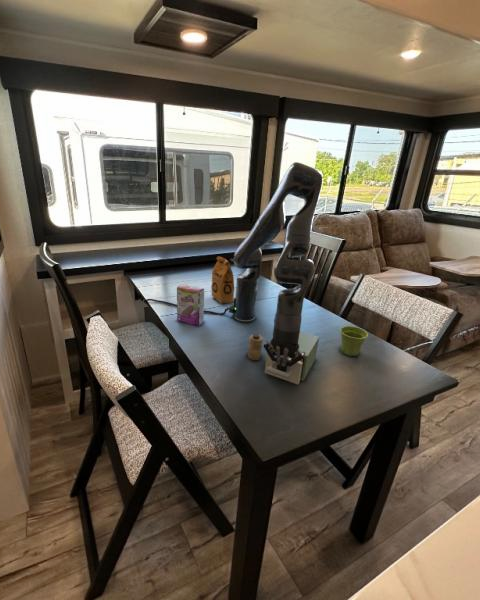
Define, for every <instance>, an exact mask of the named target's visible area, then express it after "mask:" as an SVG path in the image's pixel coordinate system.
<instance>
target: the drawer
mask: <svg viewBox="0 0 480 600" xmlns="http://www.w3.org/2000/svg"><path fill="white" fill-rule="evenodd" d="M273 349H274V348H273ZM274 351H275V350H274ZM294 357H295V354H292V355H291V356H290V357H289V360H291V359H292V358H294ZM304 360H305V357H303V359H302V360H300V361H298V362H297V363H295V364H294V365H292V366H291V367H289V366H287V371H286V372H283V371H280V370H277V369H276V368H277V363H276V362H275V361H272V360H271V358H270V357H269V355H268V353H267V352H266V356H265V366H264V374H266V375H270V376H273V377H275V378H278V379H281V380H284V381H287V382H288V383H289V382H290V383H292V384H295V385H299V384H300V382H301V380H300V376H301V374H302V371H303V366H304Z"/></svg>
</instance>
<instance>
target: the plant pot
mask: <svg viewBox="0 0 480 600" xmlns="http://www.w3.org/2000/svg"><path fill="white" fill-rule="evenodd" d="M339 331H340V336H341V338H340V339H341V341H340V343H341V344H340V351H341V352H342V353H343V354H344V355H346V356H348V357H353V356H358V355H359V353H360V351H361V348H362V346H363V344H364V342H365V340H366V339H367V338H368V337H369V334H368V332H367V331H366V330H364V329H363V328H360V327H357V326H352V325H345V326H342V327H340V329H339Z"/></svg>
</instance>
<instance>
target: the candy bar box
mask: <svg viewBox="0 0 480 600" xmlns="http://www.w3.org/2000/svg"><path fill="white" fill-rule="evenodd" d="M176 305H177V306H176V318H177V322H180V323H185V324H188V325H192V326H197V327H200V326H202V324H203V323H204V321H205V314H204V313H205V312H204V311H205V288H204V287H199V286H194V285H189V284H185V283H181V284H180V285H177V287H176Z"/></svg>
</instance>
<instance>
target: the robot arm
mask: <svg viewBox="0 0 480 600" xmlns="http://www.w3.org/2000/svg"><path fill="white" fill-rule="evenodd" d="M323 177H324V175H323V173H322V171H320V170H319V169H316V168H315V167H312V166H309V165H307V164H304V163H301V162H298V161H295V162H293V163H291V165H290V166H289V167H288V168H287V170H286V171H285V173H284V175H283V177H282V179H281V180H280V182H279V184H278V186H277V187H276V190H275V192H274V193H273V195H272V197H271V199H270V200H269V202H268V203H267V205H266V207H265V208H264V210H263V211H262V212H261V213H260V215H259V217H258V218H257V220H256V222H255V224H254V225H253V226H252V228H251V230H250V231H249V233H247V235H246V236H245V238H244V239H243V241H242V242H241V243H240V244H239V246H238V247H237V248H236V249H235V251H234V254H233V263H234V267H236V268H237V269H240V270H244V271H242V272H241V273H239V274H238V275H237V276H236V286H235V296H234V297H233V304H232V305H231V306H230V307H227V308H225V309H224V311H223V312H215V311H212V310H204V313H207V314H212V315H219V316H223V315H226V313H227V311H228V313H229V314H232V318H233V319H235V320H236V321H238V322H242V323H250V322H253V321H255V319H256V309H257V308H256V305H257V296H258V295H257V294H258V284H259V279H260V277H261V269H262V263H263V262H262V261H263V254H262V249H261V248H263V247H264V246H266V245H268V244H269V243H271V242H272V241H274V239H276V238H277V236H278V235H279V234H280V232H281V231H282V230H283V228H284V227H285V224H286V212H285V200H286V198H287V196H288V195H291V196H294V197H295V198H296V197H297V198H298V199H302V200H304V203H303V206H302V207H301V208H300V209H299V210H298V211H297V212H296V213H295V214H294V215H293V216H292V217H291V218H290V220H289V221H288V222H287V225H286V228H285V235H284V243H283V247H282V249H281V252H280V255H279V257H278V259H277V261H276V262H275V265H274V268H273V276H274V279H275V280H276V281H277V282H278V283H282V284H290V285H291V284H292V285H296V286H295V287H292V288H286V289H285V288H284V289H282V290H280V291H279V292H278V295H277V300H276V301H277V303H276V309H275V315H274V319H273V329H272V338H271V339H270V341H269V340H267V341H265V343H264V344H263V349H264V351H266V354H267V353H268V355H269V357H270V358H271V360H272V361H275V362H276V363H277V368H276V369H277V370H280V371H283V372H286V371H287V366H289V367H291V366H292V365H294V364H295V363H297V362H298V361H300V360H302V359H303V357H304V356H305V352H302V351H301V350H300V349H299V345H298V340H299V333H300V332H301V326H302V313H303V312H302V311H303V306H304V301H305V296H306V293H307V291H308V289H309V286H310V285H311V283H312V281H313V279H314V276H315V273H316V266H315V264H314V261H313V260H311V259H309V258H301V257H302V256H305V255H307V254H308V253H309V252H310V246H311V240H312V239H311V237H312V228H313V227H312V226H313V221H314V217H315V214H316V210H317V207H318V203H319V199H320V195H321V191H322V186H323V181H324V178H323ZM299 257H300V258H299ZM149 301H150V302H156V303H162V304H166V305H170V306H174V307H177V303H172V302H169V301H165V300H158V299H154V298H147V299H145V300H144V301H143V302H144V303H147V302H149ZM273 348H274V349H273ZM274 350H275V351H274ZM295 352H296V355H295V357H294V358H292V359H291V360H289V357H290V356H291V355H292V354H294V353H295Z"/></svg>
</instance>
